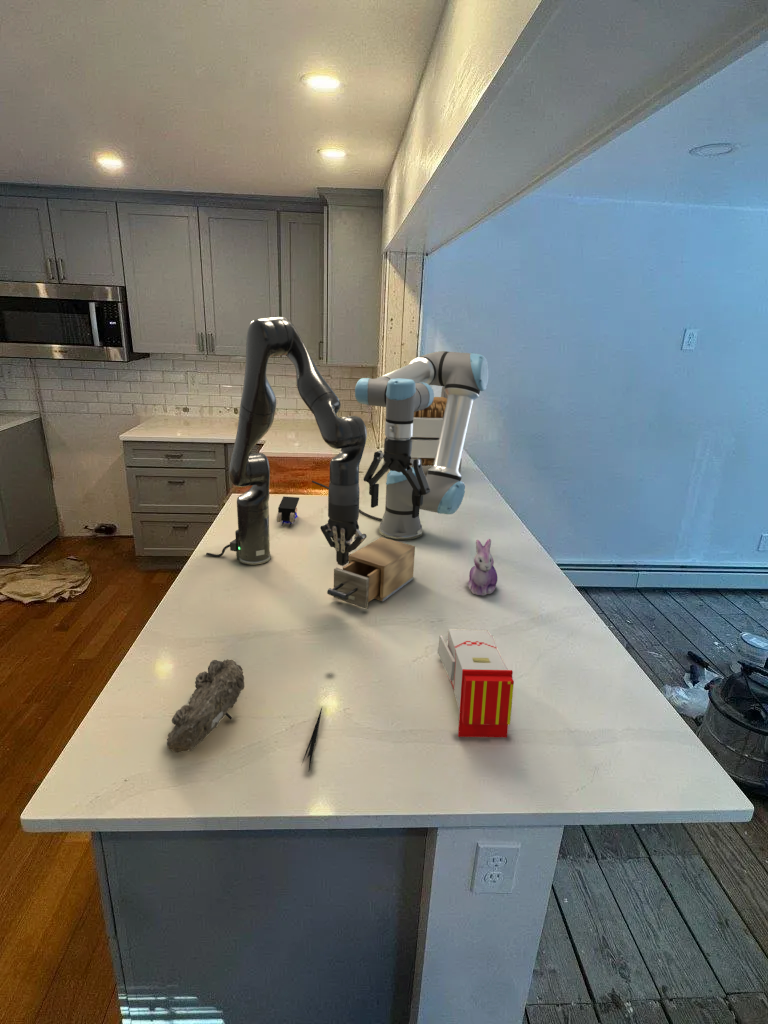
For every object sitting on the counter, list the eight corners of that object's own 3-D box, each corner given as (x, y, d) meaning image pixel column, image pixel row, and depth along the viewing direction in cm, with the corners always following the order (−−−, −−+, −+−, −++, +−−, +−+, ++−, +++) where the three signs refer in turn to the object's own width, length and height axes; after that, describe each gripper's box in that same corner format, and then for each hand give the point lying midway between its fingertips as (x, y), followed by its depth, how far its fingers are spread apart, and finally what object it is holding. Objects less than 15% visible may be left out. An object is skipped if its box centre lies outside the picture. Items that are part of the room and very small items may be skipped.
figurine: (479, 599, 156) (485, 549, 151) (458, 584, 165) (463, 536, 160) (506, 593, 161) (512, 544, 155) (484, 578, 169) (490, 531, 164)
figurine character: (295, 532, 200) (300, 513, 214) (294, 513, 197) (299, 495, 210) (276, 531, 200) (282, 512, 213) (275, 512, 197) (281, 494, 210)
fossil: (192, 660, 117) (244, 628, 112) (224, 691, 120) (276, 661, 115) (142, 746, 98) (202, 712, 93) (182, 779, 101) (242, 748, 96)
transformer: (382, 463, 289) (386, 382, 275) (445, 464, 293) (451, 384, 279) (390, 482, 257) (394, 392, 243) (460, 483, 261) (468, 394, 247)
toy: (488, 613, 130) (523, 677, 101) (484, 667, 133) (517, 744, 104) (435, 612, 130) (455, 676, 101) (432, 666, 133) (451, 743, 103)
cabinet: (382, 601, 153) (384, 566, 150) (347, 589, 159) (348, 555, 155) (413, 578, 167) (415, 546, 163) (379, 568, 173) (381, 536, 169)
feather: (331, 679, 122) (336, 673, 122) (307, 777, 96) (313, 769, 95) (324, 675, 122) (329, 669, 121) (298, 772, 95) (304, 764, 95)
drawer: (352, 618, 142) (352, 588, 140) (319, 606, 148) (319, 577, 145) (396, 586, 160) (397, 559, 157) (365, 576, 165) (366, 549, 162)
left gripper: (312, 497, 137) (312, 562, 143) (357, 509, 131) (355, 576, 137) (331, 490, 143) (330, 553, 149) (375, 501, 137) (372, 566, 143)
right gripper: (352, 433, 156) (350, 505, 163) (433, 447, 144) (427, 525, 151) (367, 428, 162) (365, 499, 169) (446, 442, 150) (440, 517, 157)
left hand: (342, 564), depth 143 cm, fingers closed
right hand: (394, 511), depth 160 cm, fingers open, 13 cm apart
